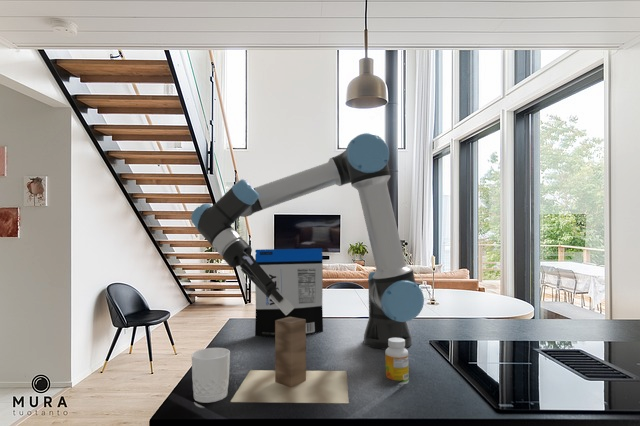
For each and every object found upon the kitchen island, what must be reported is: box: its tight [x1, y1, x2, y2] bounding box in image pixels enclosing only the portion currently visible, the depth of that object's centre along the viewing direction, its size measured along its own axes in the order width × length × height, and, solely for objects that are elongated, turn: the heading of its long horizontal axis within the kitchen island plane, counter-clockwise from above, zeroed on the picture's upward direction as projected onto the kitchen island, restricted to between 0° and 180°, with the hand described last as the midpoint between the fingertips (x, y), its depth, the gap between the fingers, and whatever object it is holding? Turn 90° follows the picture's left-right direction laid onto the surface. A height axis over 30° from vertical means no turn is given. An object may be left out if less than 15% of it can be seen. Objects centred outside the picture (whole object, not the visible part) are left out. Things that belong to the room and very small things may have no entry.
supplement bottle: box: [384, 338, 410, 386], centre depth 90 cm, size 5×5×10 cm
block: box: [274, 317, 307, 387], centre depth 88 cm, size 5×5×14 cm
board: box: [230, 369, 350, 404], centre depth 85 cm, size 24×18×1 cm
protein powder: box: [254, 248, 324, 339], centre depth 135 cm, size 10×24×30 cm, turn 103°
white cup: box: [191, 347, 231, 409], centre depth 80 cm, size 8×8×10 cm
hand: (289, 311), depth 97 cm, fingers closed
